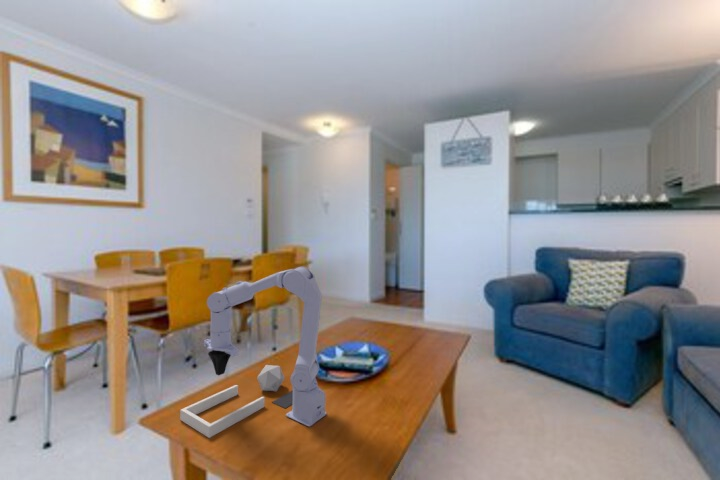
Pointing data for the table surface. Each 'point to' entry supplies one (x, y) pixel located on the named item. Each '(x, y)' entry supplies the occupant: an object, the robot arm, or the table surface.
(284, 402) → the hole mat
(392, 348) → the table surface
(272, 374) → the die
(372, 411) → the table surface
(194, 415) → the grey u-shaped frame
